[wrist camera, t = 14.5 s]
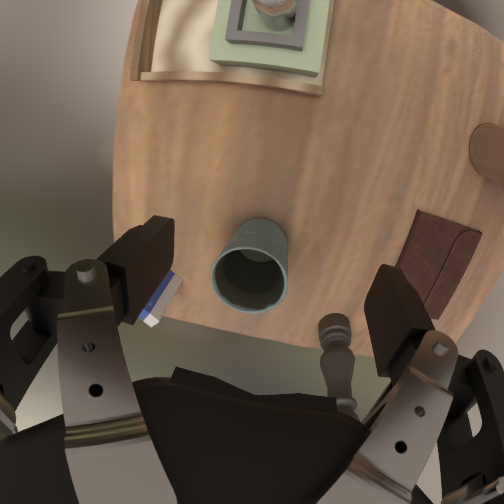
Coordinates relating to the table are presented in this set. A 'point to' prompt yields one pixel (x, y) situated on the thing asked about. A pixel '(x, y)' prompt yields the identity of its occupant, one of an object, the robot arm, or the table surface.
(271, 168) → the table surface
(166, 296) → the walkman
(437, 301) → the notebook
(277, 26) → the handle
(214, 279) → the teal cup
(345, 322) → the candle holder
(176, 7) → the bay
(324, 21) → the green stepped block
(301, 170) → the table surface
